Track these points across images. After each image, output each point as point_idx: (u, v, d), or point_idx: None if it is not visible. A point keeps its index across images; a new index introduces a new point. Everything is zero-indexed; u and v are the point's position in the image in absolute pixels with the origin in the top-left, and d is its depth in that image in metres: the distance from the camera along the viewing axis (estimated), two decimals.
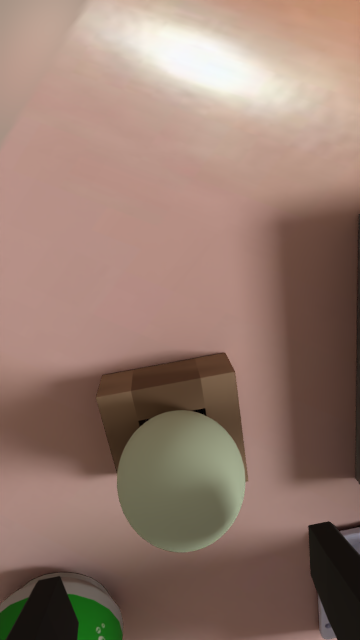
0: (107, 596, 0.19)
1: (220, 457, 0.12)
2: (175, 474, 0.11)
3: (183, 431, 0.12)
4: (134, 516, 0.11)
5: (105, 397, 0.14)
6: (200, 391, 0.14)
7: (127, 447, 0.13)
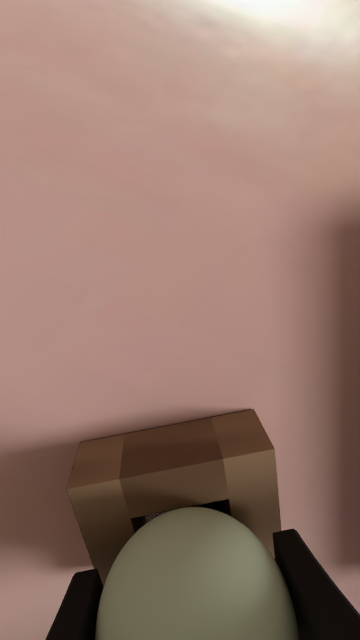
0: None
1: (265, 621, 0.07)
2: None
3: (202, 571, 0.07)
4: None
5: (81, 488, 0.09)
6: (222, 477, 0.10)
7: (111, 584, 0.08)
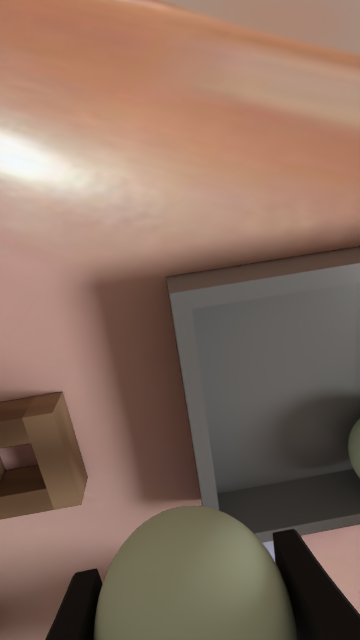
0: None
1: (264, 618, 0.07)
2: None
3: (202, 569, 0.07)
4: None
5: None
6: (23, 429, 0.17)
7: (110, 583, 0.08)
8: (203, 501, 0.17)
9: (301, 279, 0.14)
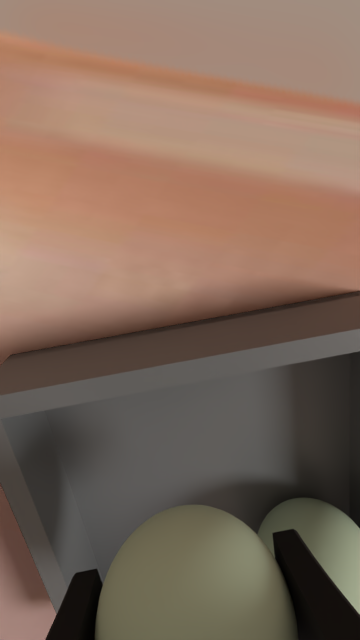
0: None
1: (266, 616, 0.07)
2: None
3: (204, 567, 0.07)
4: None
5: None
6: None
7: (112, 581, 0.08)
8: None
9: (143, 377, 0.10)
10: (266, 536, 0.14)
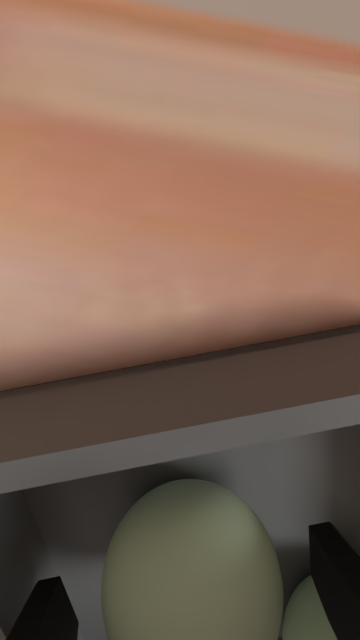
0: None
1: (253, 568, 0.08)
2: (189, 605, 0.07)
3: (198, 526, 0.08)
4: None
5: None
6: None
7: (116, 543, 0.09)
8: None
9: (140, 447, 0.07)
10: (299, 627, 0.11)
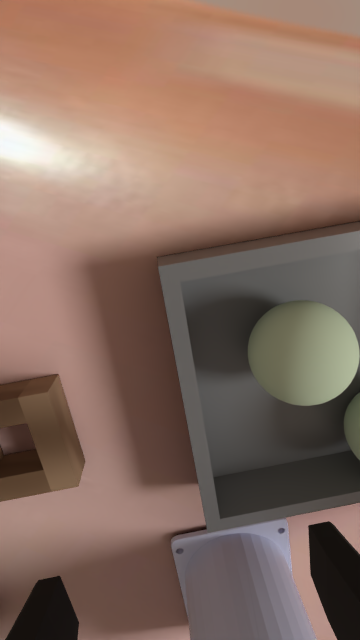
0: None
1: (345, 322, 0.15)
2: (317, 328, 0.14)
3: (312, 305, 0.15)
4: (281, 367, 0.14)
5: None
6: (19, 409, 0.17)
7: (261, 324, 0.15)
8: (198, 479, 0.17)
9: (287, 250, 0.14)
10: (358, 407, 0.18)
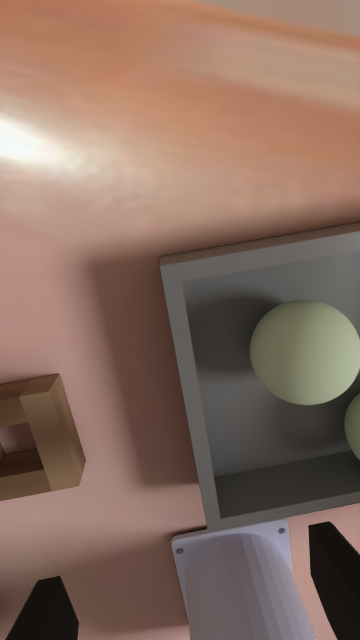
0: None
1: (347, 321, 0.15)
2: (320, 327, 0.14)
3: (314, 304, 0.15)
4: (285, 366, 0.14)
5: None
6: (20, 408, 0.17)
7: (264, 323, 0.15)
8: (199, 479, 0.17)
9: (289, 250, 0.14)
10: (359, 407, 0.18)
